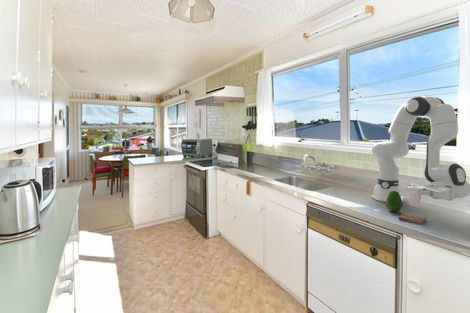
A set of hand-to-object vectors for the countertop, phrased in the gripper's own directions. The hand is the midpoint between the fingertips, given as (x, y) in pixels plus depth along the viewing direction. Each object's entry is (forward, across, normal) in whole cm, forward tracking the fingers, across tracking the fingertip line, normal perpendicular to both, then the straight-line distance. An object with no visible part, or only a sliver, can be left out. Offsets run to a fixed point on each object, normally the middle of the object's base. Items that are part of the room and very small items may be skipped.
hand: (413, 190), depth 128 cm
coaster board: (-1, 0, +16) cm, 16 cm away
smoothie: (-1, 0, +8) cm, 8 cm away
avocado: (-1, -14, +16) cm, 21 cm away
